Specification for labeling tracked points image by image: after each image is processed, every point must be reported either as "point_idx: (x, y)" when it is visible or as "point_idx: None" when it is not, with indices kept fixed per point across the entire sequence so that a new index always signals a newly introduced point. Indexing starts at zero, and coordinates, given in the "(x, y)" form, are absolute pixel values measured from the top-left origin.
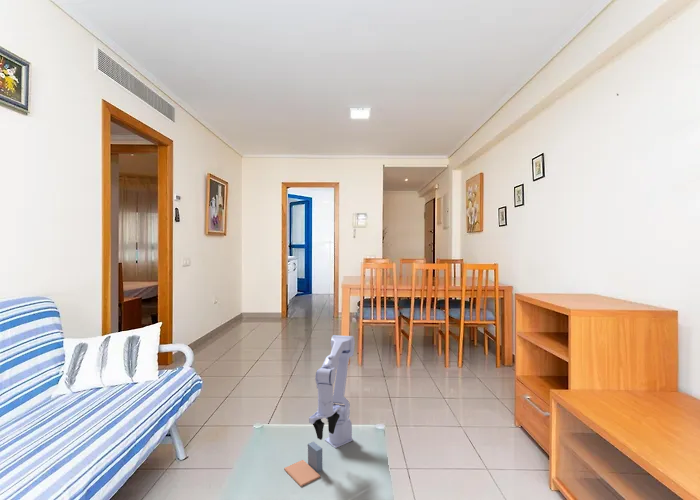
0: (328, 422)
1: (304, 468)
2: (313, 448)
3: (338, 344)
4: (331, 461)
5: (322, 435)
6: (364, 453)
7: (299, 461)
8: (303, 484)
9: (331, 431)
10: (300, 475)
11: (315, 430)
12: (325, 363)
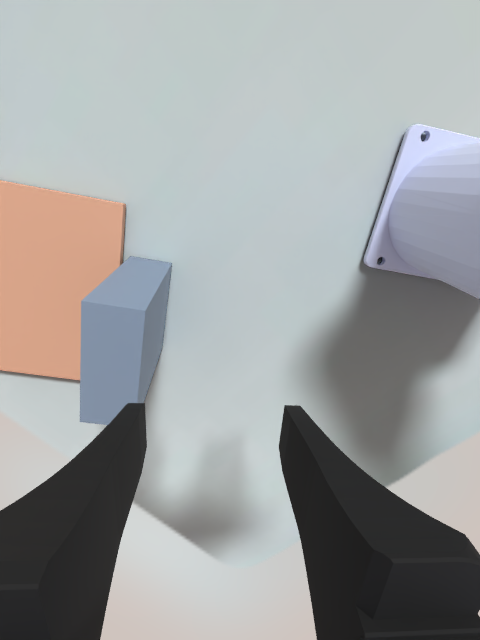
0: (317, 469)
1: (78, 283)
2: (80, 382)
3: None
4: (250, 329)
5: (135, 485)
6: (406, 402)
7: (93, 201)
8: (7, 369)
9: (284, 450)
10: (26, 312)
11: (82, 450)
12: None
